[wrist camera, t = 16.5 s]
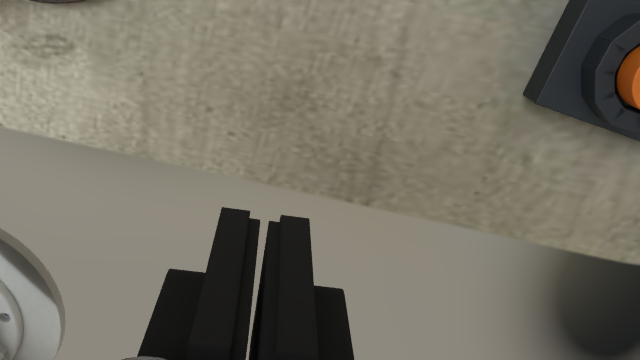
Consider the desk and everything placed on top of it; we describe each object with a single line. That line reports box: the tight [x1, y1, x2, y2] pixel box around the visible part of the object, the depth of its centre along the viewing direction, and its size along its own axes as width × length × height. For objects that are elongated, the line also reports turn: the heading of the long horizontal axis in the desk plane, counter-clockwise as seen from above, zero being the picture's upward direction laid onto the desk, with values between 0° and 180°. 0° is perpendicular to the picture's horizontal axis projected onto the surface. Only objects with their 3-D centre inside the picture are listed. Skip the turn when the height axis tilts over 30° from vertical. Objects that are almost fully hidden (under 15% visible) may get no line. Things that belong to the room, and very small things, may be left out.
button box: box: [523, 0, 640, 141], centre depth 36 cm, size 10×8×4 cm
